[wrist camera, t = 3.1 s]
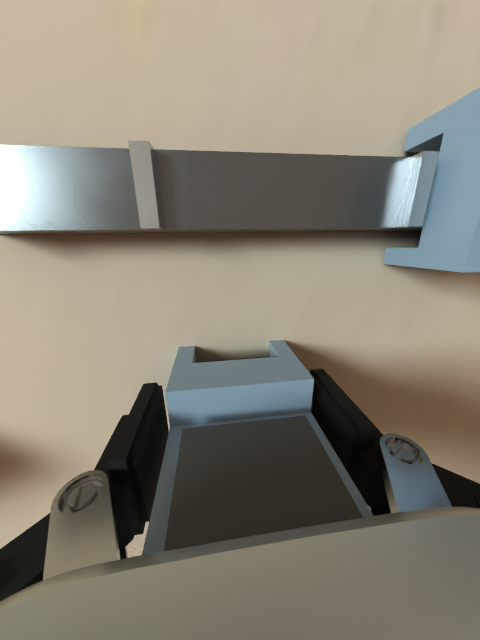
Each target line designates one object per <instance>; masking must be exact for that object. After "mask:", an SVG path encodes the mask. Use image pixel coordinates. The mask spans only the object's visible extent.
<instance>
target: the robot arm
mask: <svg viewBox="0 0 480 640" xmlns="http://www.w3.org/2000/svg"><path fill="white" fill-rule="evenodd" d="M310 374H311V376H312V377H313V378H314V385H313V395H312V405H311V413H312V415H313V416H314V418H315V420H316V421H317V423H318V425H319V426H320V428H321V430H322V431H323V433H324V435H325V436H326V438H327V439H328V441H329V443H330V444H331V446H332V448H333V449H334V451H335V453H336V454H337V456H338V458H339V459H340V461H341V463H342V464H343V466H344V468H345V469H346V471H347V473H348V474H349V476H350V477H351V479H352V481H353V482H354V484H355V486H356V487H357V489H358V491H359V492H360V494H361V496H362V497H363V499H364V501H365V502H366V504H367V506H368V507H369V509H370V510H371V512H372V514H373V515H374V516H371V517H365V518H358V519H352V520H346V521H340V522H333V523H327V524H321V525H315V526H309V527H303V528H297V529H291V530H285V531H279V532H273V533H267V534H261V535H255V536H249V537H243V538H237V539H231V540H226V541H220V542H214V543H208V544H203V545H197V546H191V547H185V548H180V549H174V550H168V551H162V552H157V553H151V554H146V555H141V556H136V557H131V558H128V553H127V545H128V544H129V543H130V542H131V541H132V540H133V538H134V535H138V534H143V531H144V527H145V522H148V521H150V517H151V512H152V507H153V503H154V498H155V494H156V489H157V485H158V480H159V476H160V471H161V467H162V462H163V457H164V453H165V448H166V444H167V439H168V435H169V431H168V424H167V417H166V410H165V403H164V396H163V390H162V386H158V384H157V383H147V384H143V386H142V388H141V390H140V392H139V394H138V397H137V399H136V401H135V403H134V405H133V407H132V409H131V411H130V413H129V415H124V416H122V417H121V419H120V421H119V423H118V425H117V427H116V429H115V430H114V432H113V434H112V436H111V438H110V440H109V442H108V444H107V446H106V448H105V450H104V452H103V454H102V456H101V458H100V460H99V462H98V464H97V465H96V467H95V469H94V470H93V471H88V472H85V473H82V474H80V475H78V476H76V477H75V478H73V479H72V480H70V481H69V482H68V483H67V484H65V485H64V486H63V487H62V488H61V490H60V491H59V492H58V493H57V495H56V496H55V498H54V500H53V503H52V506H51V512H50V513H49V514H48V515H47V516H45V517H44V518H43V519H41V520H40V521H38V522H37V523H36V524H34V525H33V526H32V527H30V528H29V529H27V530H26V531H25V532H23V533H22V534H21V535H19V536H18V537H16V538H15V539H14V540H12V541H11V542H9V543H8V544H7V545H5V546H4V547H3V548H1V549H0V640H480V484H479V483H476V482H474V481H472V480H469V479H467V478H465V477H462V476H460V475H458V474H455V473H453V472H451V471H448V470H446V469H444V468H441V467H439V466H437V465H434V464H432V463H431V462H430V460H429V458H428V456H427V454H426V453H425V451H424V450H423V449H422V448H421V447H420V446H419V445H418V444H416V443H415V442H413V441H412V440H410V439H408V438H406V437H403V436H400V435H397V434H385V435H383V434H382V433H381V432H380V431H379V430H378V429H377V428H376V426H375V425H374V424H373V423H372V422H371V421H370V420H369V419H368V418H367V417H366V415H365V414H364V413H363V412H362V411H361V410H360V409H359V408H358V407H357V406H356V405H355V403H354V402H353V401H352V400H351V399H350V398H349V397H348V396H347V395H346V394H345V393H344V391H343V390H342V389H341V388H340V387H339V386H338V385H337V384H336V383H335V382H334V381H333V379H332V378H331V377H330V376H329V375H328V374H327V373H326V372H325V371H324V370H323V369H314V370H310Z"/></svg>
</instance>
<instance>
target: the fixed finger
mask: <svg viewBox="0 0 480 640" xmlns="http://www.w3.org/2000/svg"><path fill="white" fill-rule="evenodd" d="M422 151H439V157H438V161H437V166H436V170H435V175H434V179H433V184H432V188H431V193H430V197H429V201H428V206H427V210H426V215H425V219H424V224H423V228H422V233H421V237H420V242H419V246H418V247H387V248H386V253H385V259H384V264H388V265H397V266H407V267H416V268H425V269H435V270H444V271H454V272H480V88H478V89H476V90H475V91H473V92H471V93H470V94H468V95H466V96H464V97H463V98H461V99H459V100H458V101H456V102H454V103H453V104H451V105H449V106H447V107H446V108H444V109H442V110H441V111H439V112H437V113H435V114H434V115H432V116H430V117H429V118H427V119H425V120H424V121H422V122H420V123H418V124H417V125H415V126H413V127H412V128H410V129H408V132H407V137H406V143H405V148H404V152H422Z"/></svg>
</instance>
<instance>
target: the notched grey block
mask: <svg viewBox="0 0 480 640" xmlns="http://www.w3.org/2000/svg"><path fill="white" fill-rule="evenodd" d="M313 385H314V378H313V377H312V376H311V374H310V373H309V372H308V371H307V369H306V368H305V367H304V365H303V364H302V363H301V362H300V360H299V359H298V358H297V357H296V355H295V354H294V353H293V351H292V350H291V349H290V348H289V346H288V345H287V344H286V342H285V341H284V340H281V341H270V343H269V357H268V358H254V359H241V360H228V361H214V362H201V363H196V355H195V346H191V347H179V349H178V352H177V356H176V359H175V362H174V366H173V369H172V372H171V375H170V379H169V382H168V385H167V388H166V392H165V393H166V400H167V407H168V414H169V421H170V430H169V435H168V439H167V444H166V448H165V453H164V457H163V462H162V467H161V471H160V476H159V480H158V485H157V489H156V494H155V498H154V503H153V507H152V512H151V517H150V521H149V526H148V530H147V535H146V539H145V544H144V548H143V553H142V555H146V554H151V553H157V552H162V551H168V550H174V549H180V548H185V547H191V546H197V545H203V544H208V543H214V542H220V541H226V540H231V539H237V538H243V537H249V536H255V535H261V534H267V533H273V532H279V531H285V530H291V529H297V528H303V527H309V526H315V525H321V524H327V523H333V522H340V521H346V520H352V519H358V518H365V517H371V516H374V515H373V514H372V512H371V510H370V509H369V507H368V506H367V504H366V502H365V501H364V499H363V497H362V496H361V494H360V492H359V491H358V489H357V487H356V486H355V484H354V482H353V481H352V479H351V477H350V476H349V474H348V473H347V471H346V469H345V468H344V466H343V464H342V463H341V461H340V459H339V458H338V456H337V454H336V453H335V451H334V449H333V448H332V446H331V444H330V443H329V441H328V439H327V438H326V436H325V435H324V433H323V431H322V430H321V428H320V426H319V425H318V423H317V421H316V420H315V418H314V416H313V415H312V413H311V405H312V395H313Z"/></svg>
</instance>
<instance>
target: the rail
mask: <svg viewBox="0 0 480 640" xmlns="http://www.w3.org/2000/svg"><path fill="white" fill-rule="evenodd" d="M128 143H129V149H122V148H90V147H58V146H25V145H0V234H64V233H167V232H269V231H372V230H422V228H423V224H424V219H425V215H426V210H427V206H428V201H429V197H430V193H431V188H432V184H433V179H434V175H435V170H436V166H437V161H438V155H439V151H422V152H420V153H418V154H416V155H413V156H411V157H381V156H349V155H316V154H284V153H252V152H219V151H187V150H155V149H153V147H152V145H151V144H150V142H149V141H128Z"/></svg>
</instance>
